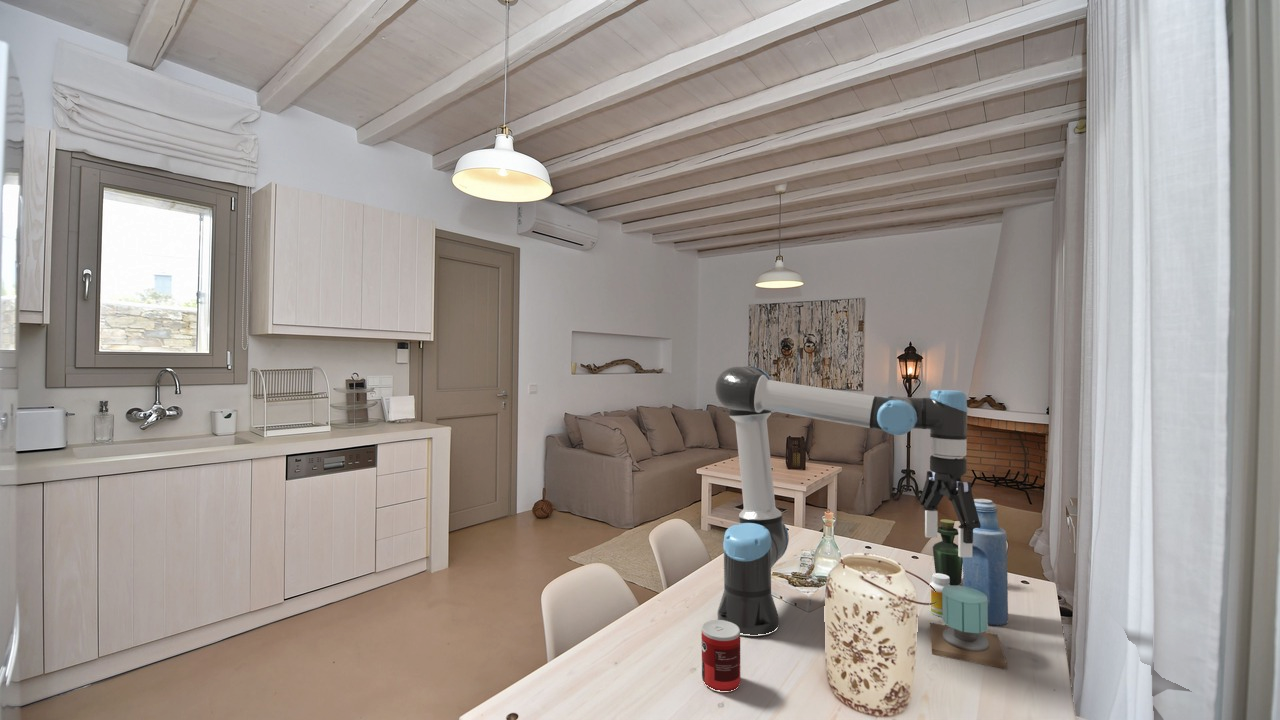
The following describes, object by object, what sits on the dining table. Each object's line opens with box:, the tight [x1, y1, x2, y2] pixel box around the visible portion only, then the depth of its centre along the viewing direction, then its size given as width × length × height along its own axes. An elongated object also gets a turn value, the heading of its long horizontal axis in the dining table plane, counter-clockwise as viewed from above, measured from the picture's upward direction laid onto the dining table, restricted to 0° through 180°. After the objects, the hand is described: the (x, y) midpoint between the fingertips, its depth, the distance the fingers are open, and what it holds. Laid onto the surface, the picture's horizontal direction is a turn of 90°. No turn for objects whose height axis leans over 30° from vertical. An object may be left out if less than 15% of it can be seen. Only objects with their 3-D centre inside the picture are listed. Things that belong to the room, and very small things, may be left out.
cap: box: [942, 585, 989, 633], centre depth 125 cm, size 9×9×7 cm
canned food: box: [701, 619, 741, 691], centre depth 111 cm, size 8×8×11 cm
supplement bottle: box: [929, 572, 952, 618], centre depth 142 cm, size 5×5×10 cm
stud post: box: [929, 622, 1008, 670], centre depth 125 cm, size 14×14×12 cm
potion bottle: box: [932, 518, 963, 586], centre depth 163 cm, size 8×8×18 cm
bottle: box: [962, 498, 1009, 627], centre depth 139 cm, size 10×10×30 cm
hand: (947, 546), depth 128 cm, fingers open, 13 cm apart
